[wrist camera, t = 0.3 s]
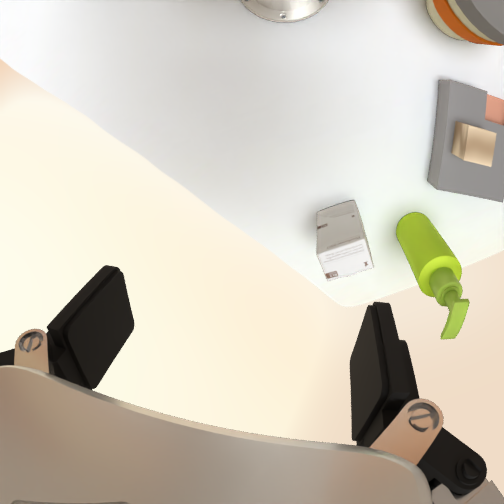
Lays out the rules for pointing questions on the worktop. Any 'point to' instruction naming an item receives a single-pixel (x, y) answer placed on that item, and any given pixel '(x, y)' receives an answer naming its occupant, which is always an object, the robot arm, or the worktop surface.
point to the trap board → (442, 160)
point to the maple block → (473, 144)
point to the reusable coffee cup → (469, 19)
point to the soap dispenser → (434, 268)
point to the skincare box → (342, 241)
